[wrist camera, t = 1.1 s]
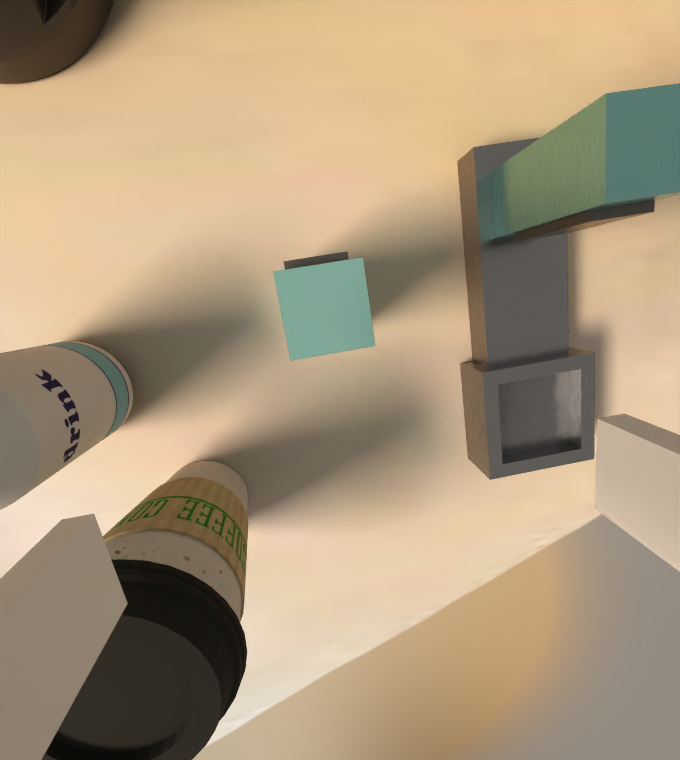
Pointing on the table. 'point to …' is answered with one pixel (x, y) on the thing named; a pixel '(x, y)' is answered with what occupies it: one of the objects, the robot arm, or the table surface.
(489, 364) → the grey and teal stand
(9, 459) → the beverage can
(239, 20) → the table surface
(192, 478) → the coffee cup
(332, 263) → the block
